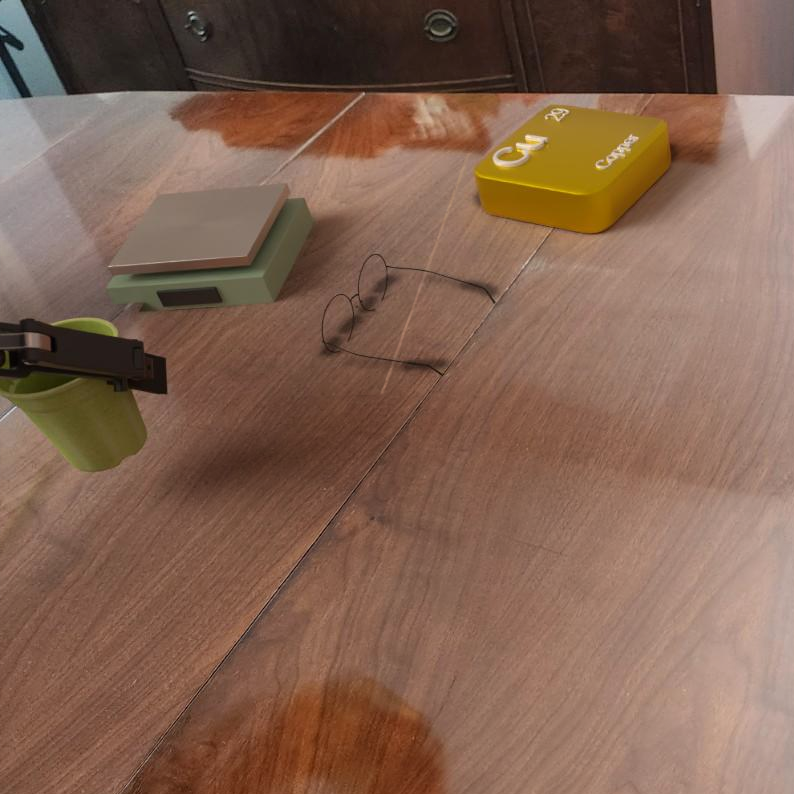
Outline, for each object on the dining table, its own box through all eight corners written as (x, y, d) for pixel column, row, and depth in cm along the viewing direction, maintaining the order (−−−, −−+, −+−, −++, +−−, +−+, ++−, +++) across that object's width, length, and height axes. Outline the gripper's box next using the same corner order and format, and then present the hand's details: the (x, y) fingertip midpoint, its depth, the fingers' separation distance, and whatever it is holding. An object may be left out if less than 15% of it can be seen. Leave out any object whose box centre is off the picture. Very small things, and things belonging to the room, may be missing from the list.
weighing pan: (112, 275, 105) (107, 266, 104) (161, 203, 114) (157, 194, 113) (250, 265, 103) (246, 255, 102) (290, 192, 111) (287, 182, 110)
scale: (118, 316, 108) (99, 281, 105) (171, 236, 117) (154, 201, 114) (273, 305, 105) (258, 269, 102) (314, 224, 114) (301, 188, 111)
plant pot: (66, 418, 90) (8, 328, 83) (180, 399, 89) (130, 306, 83) (35, 497, 83) (-31, 405, 77) (156, 477, 83) (100, 383, 76)
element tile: (601, 238, 104) (594, 191, 101) (474, 213, 111) (462, 167, 107) (679, 160, 112) (674, 113, 108) (555, 141, 118) (547, 96, 115)
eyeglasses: (501, 297, 100) (489, 247, 96) (438, 384, 93) (421, 334, 89) (394, 286, 104) (378, 237, 100) (325, 369, 97) (305, 320, 93)
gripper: (-299, 406, 65) (-25, 434, 87) (40, 388, 62) (238, 423, 84) (-310, 276, 65) (-31, 337, 87) (32, 250, 61) (233, 321, 83)
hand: (101, 379), depth 85 cm, fingers closed on plant pot, 9 cm apart
